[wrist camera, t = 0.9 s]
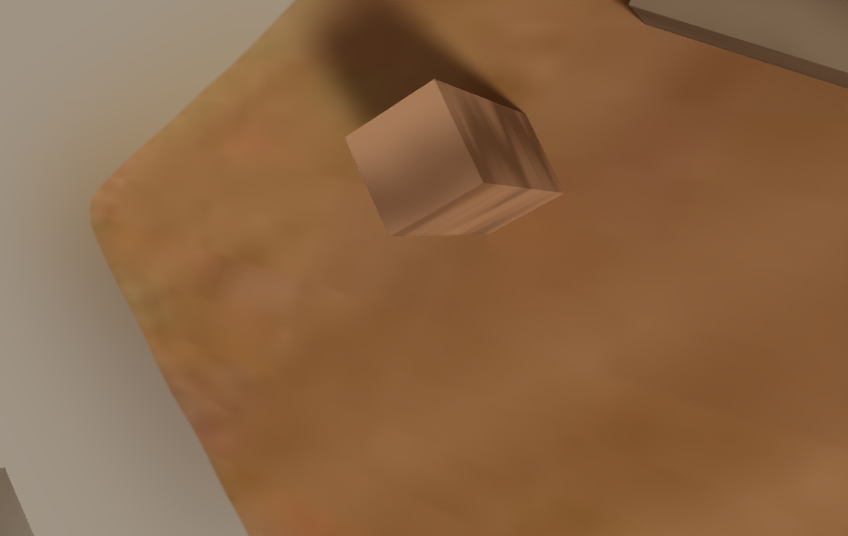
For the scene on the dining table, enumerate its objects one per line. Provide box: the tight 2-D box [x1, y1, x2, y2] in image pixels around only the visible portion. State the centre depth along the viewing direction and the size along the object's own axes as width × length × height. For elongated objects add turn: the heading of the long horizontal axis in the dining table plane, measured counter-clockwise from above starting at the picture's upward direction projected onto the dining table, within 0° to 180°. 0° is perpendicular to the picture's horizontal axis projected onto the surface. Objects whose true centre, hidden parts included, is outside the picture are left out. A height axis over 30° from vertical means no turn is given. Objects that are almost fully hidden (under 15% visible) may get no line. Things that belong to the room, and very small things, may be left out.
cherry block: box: [345, 79, 564, 236], centre depth 40 cm, size 5×5×12 cm
